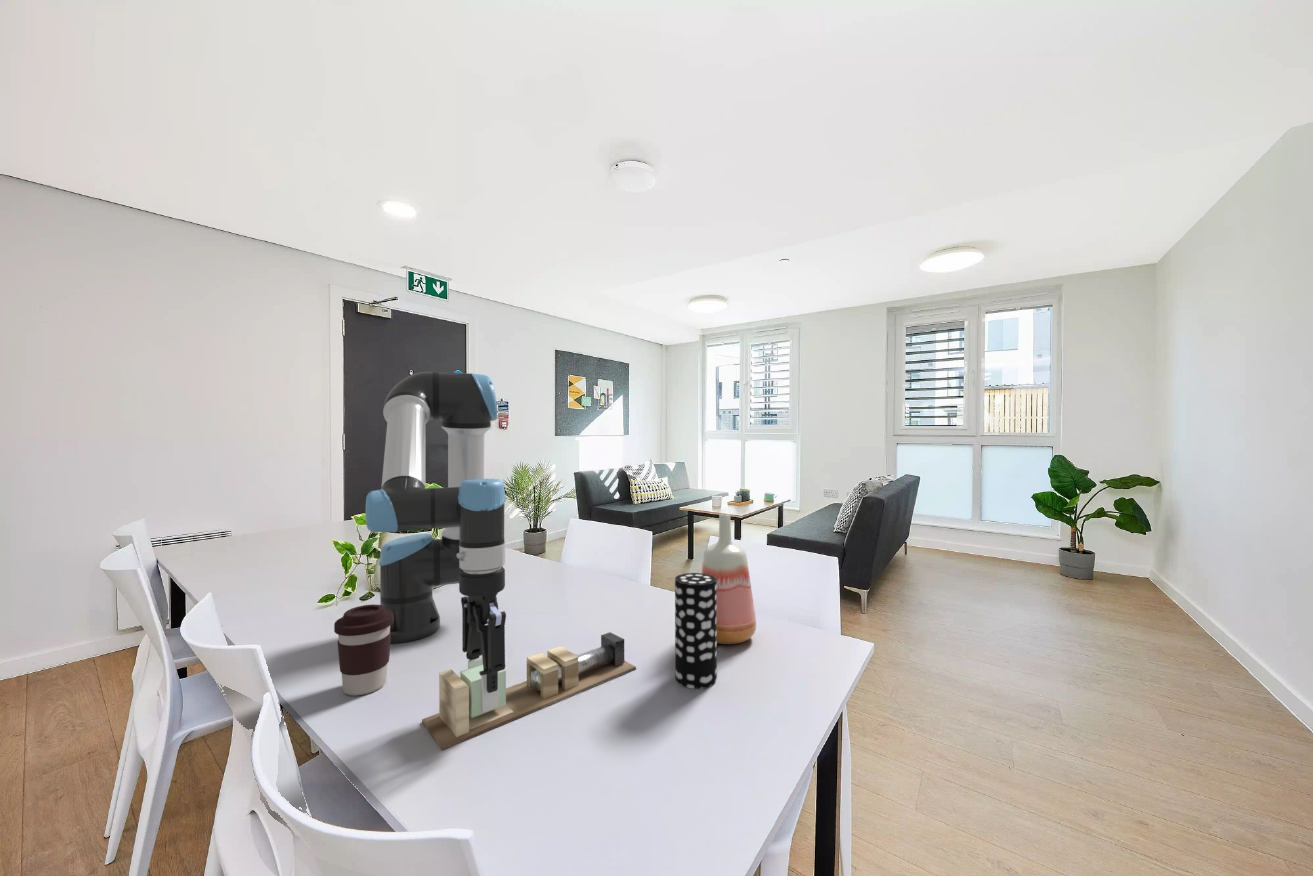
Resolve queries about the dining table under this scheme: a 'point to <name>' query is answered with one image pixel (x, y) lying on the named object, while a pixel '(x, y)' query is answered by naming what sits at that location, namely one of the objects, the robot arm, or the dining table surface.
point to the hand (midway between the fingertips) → (483, 701)
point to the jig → (513, 696)
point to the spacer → (474, 683)
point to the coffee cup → (364, 648)
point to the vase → (730, 587)
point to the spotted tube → (696, 630)
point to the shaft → (592, 658)
